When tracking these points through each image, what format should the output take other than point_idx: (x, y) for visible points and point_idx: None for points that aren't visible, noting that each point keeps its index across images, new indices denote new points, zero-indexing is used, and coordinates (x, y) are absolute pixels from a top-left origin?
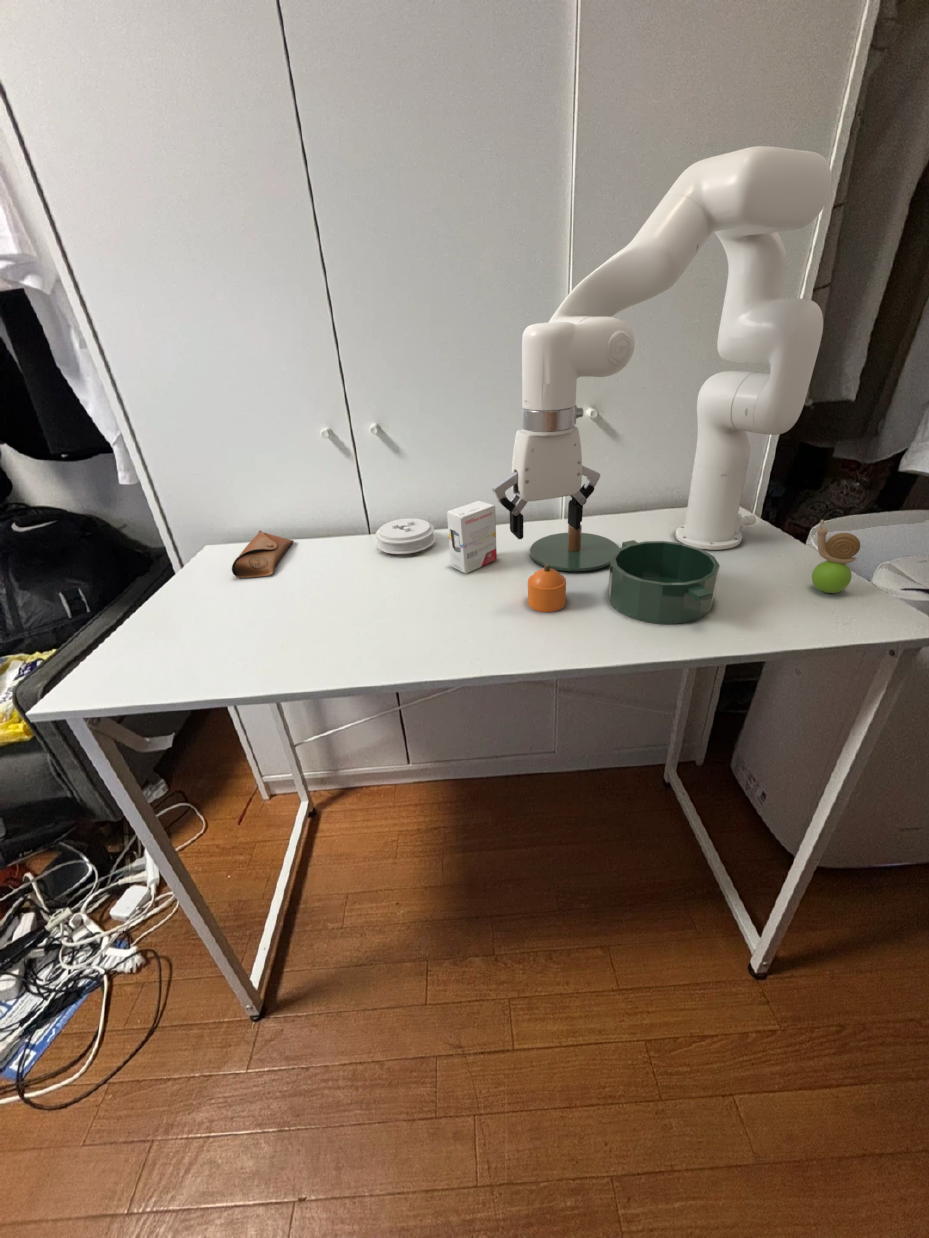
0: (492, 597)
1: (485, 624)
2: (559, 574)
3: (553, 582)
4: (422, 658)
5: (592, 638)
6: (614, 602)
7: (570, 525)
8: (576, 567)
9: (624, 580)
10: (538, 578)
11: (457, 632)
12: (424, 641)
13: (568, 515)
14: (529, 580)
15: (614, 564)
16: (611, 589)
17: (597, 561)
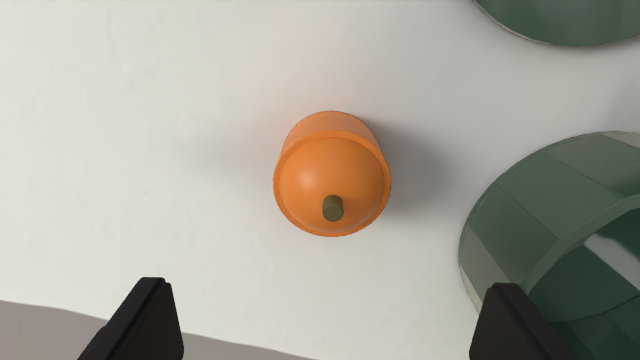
0: (199, 68)
1: (157, 190)
2: (367, 213)
3: (332, 232)
4: (17, 253)
5: (350, 305)
6: (465, 243)
7: (481, 311)
8: (518, 24)
9: None
10: (295, 210)
11: (89, 197)
12: (13, 202)
13: (515, 329)
14: (281, 168)
15: (529, 280)
16: (480, 243)
17: (614, 9)
